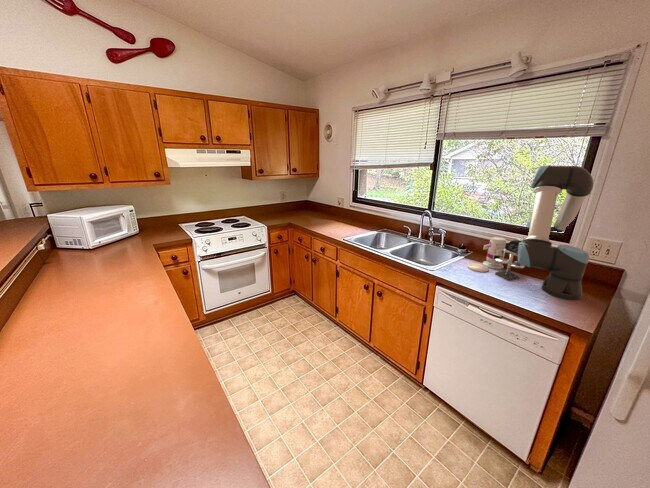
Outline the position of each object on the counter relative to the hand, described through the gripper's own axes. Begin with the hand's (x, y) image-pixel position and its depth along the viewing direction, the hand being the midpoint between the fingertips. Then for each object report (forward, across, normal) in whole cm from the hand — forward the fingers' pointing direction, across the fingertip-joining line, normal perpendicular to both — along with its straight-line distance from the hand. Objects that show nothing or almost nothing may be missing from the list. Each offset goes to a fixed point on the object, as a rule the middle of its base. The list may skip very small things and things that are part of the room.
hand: (490, 249), depth 160 cm
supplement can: (-5, 0, -9) cm, 10 cm away
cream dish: (+7, 0, -11) cm, 13 cm away
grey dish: (-5, 0, -11) cm, 12 cm away
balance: (+1, -14, -11) cm, 18 cm away
